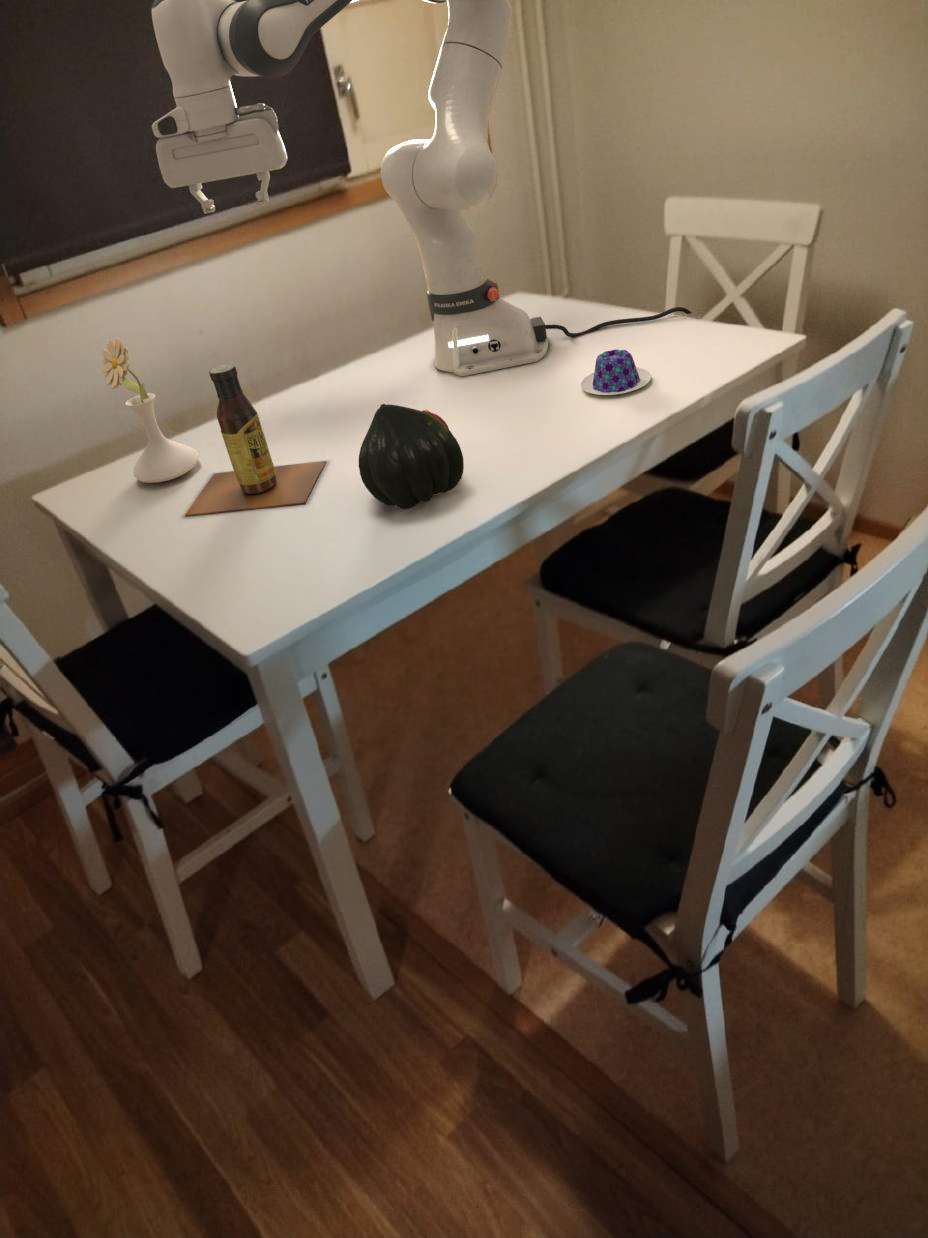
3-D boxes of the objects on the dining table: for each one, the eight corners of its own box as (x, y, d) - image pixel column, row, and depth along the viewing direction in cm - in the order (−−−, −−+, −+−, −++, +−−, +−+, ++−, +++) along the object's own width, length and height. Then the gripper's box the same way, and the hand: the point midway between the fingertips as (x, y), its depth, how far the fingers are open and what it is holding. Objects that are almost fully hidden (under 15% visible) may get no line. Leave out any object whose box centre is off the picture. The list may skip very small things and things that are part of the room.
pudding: (593, 370, 166) (591, 341, 163) (659, 370, 161) (658, 341, 158) (571, 398, 158) (567, 368, 155) (640, 399, 153) (637, 369, 150)
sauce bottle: (271, 495, 147) (231, 375, 136) (235, 497, 149) (193, 379, 137) (284, 475, 152) (247, 358, 141) (250, 478, 154) (210, 362, 142)
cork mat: (326, 462, 154) (325, 460, 154) (305, 503, 143) (304, 502, 143) (214, 474, 158) (213, 473, 158) (185, 516, 147) (185, 514, 147)
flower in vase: (133, 472, 165) (75, 335, 151) (195, 451, 168) (144, 315, 154) (142, 499, 155) (81, 355, 141) (208, 477, 158) (155, 333, 143)
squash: (478, 473, 129) (440, 376, 130) (376, 508, 127) (339, 409, 129) (469, 501, 143) (435, 412, 144) (377, 533, 141) (344, 443, 143)
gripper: (278, 97, 144) (302, 192, 151) (157, 120, 148) (186, 212, 155) (266, 103, 139) (292, 201, 146) (141, 127, 143) (173, 222, 150)
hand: (237, 207), depth 151 cm, fingers open, 8 cm apart
